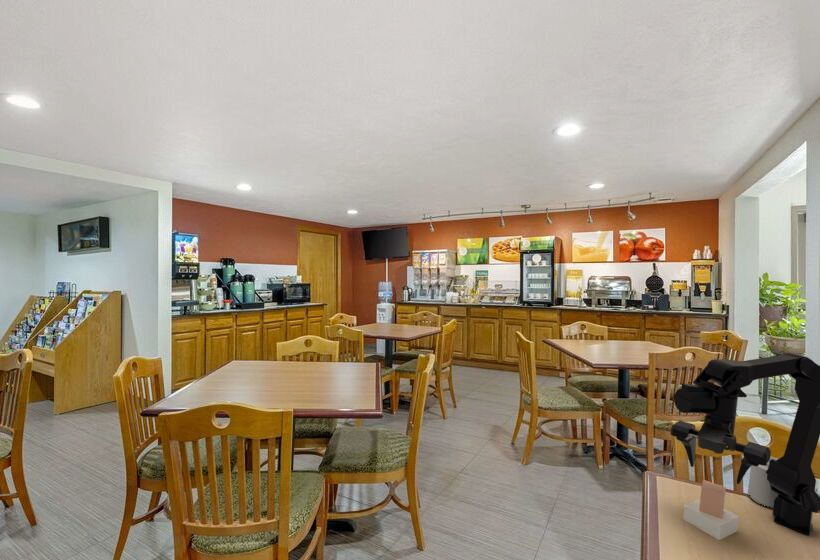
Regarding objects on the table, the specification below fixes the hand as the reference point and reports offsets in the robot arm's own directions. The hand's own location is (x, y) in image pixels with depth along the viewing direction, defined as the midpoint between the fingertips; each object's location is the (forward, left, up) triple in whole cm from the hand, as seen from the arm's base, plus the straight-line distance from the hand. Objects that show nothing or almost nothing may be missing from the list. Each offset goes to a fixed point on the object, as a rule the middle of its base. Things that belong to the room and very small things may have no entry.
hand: (714, 474), depth 98 cm
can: (-7, -25, -13) cm, 29 cm away
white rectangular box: (0, 0, -13) cm, 13 cm away
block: (0, 0, -9) cm, 9 cm away
